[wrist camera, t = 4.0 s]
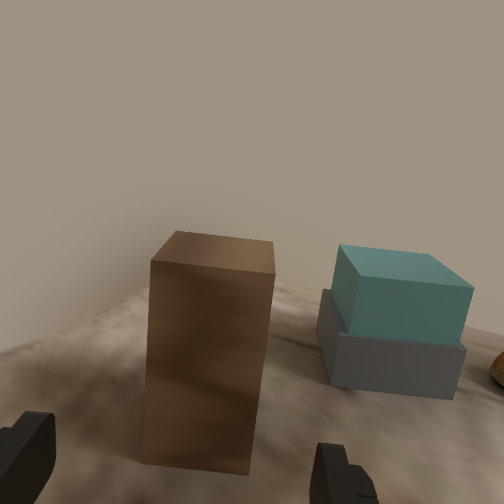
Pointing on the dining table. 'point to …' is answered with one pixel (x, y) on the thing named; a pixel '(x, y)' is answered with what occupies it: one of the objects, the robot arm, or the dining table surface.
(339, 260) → the tower top slab
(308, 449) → the dining table surface
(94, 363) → the dining table surface
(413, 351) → the tower base slab
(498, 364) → the pastry
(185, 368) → the walnut pillar
